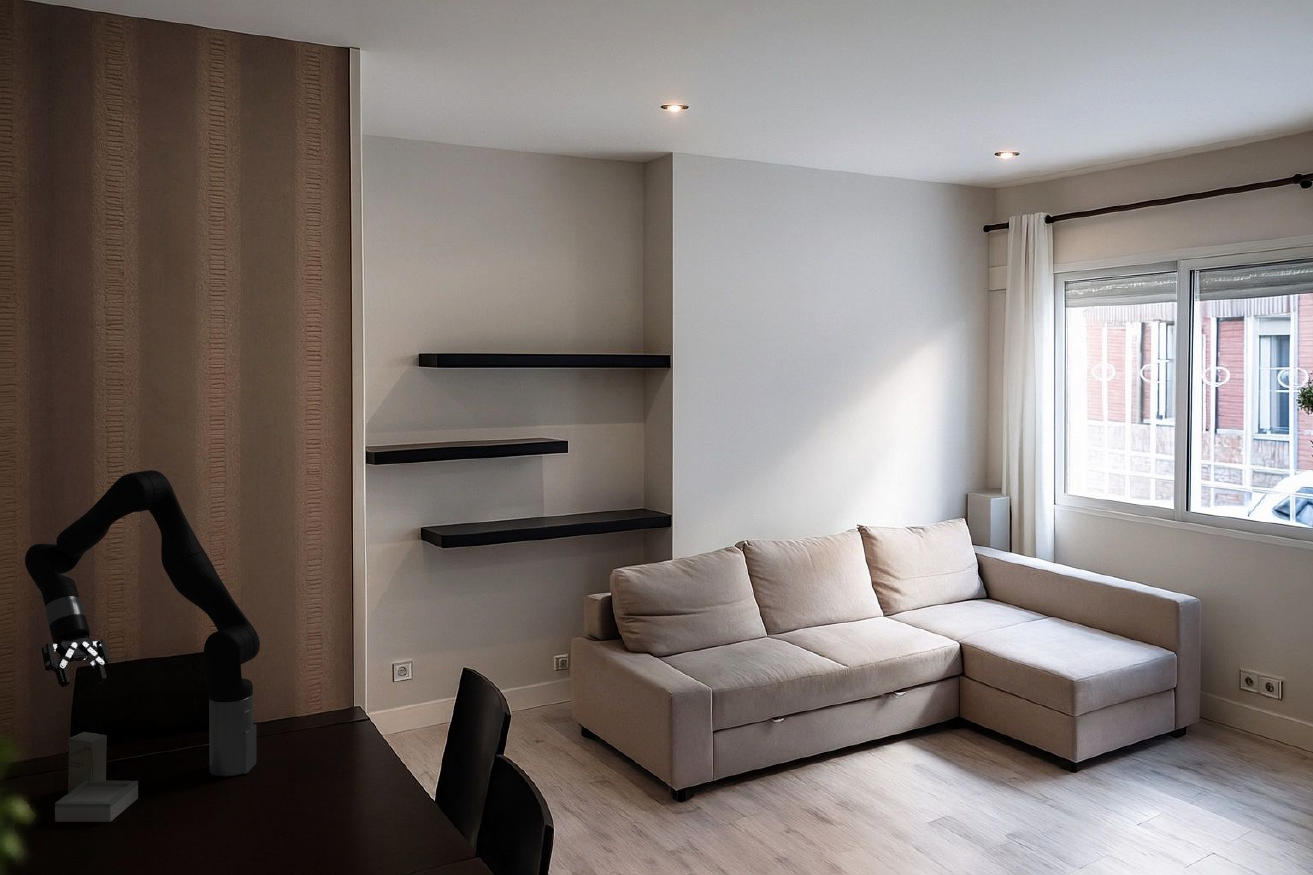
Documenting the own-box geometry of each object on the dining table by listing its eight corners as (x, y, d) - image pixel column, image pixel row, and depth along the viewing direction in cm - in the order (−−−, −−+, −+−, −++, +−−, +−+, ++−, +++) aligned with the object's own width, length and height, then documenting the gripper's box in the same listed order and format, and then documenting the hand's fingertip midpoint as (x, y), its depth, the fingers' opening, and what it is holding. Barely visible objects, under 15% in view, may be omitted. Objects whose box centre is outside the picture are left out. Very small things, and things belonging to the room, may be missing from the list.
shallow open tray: (138, 797, 203) (137, 780, 203) (110, 821, 192) (110, 803, 192) (85, 797, 203) (85, 780, 202) (55, 821, 192) (54, 803, 192)
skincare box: (67, 793, 205) (66, 738, 204) (84, 784, 209) (83, 730, 208) (91, 796, 203) (90, 741, 203) (108, 788, 208) (107, 734, 207)
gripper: (46, 613, 214) (64, 679, 209) (105, 611, 227) (123, 673, 222) (26, 629, 217) (43, 694, 211) (86, 626, 229) (103, 687, 224)
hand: (84, 683), depth 217 cm, fingers open, 8 cm apart
